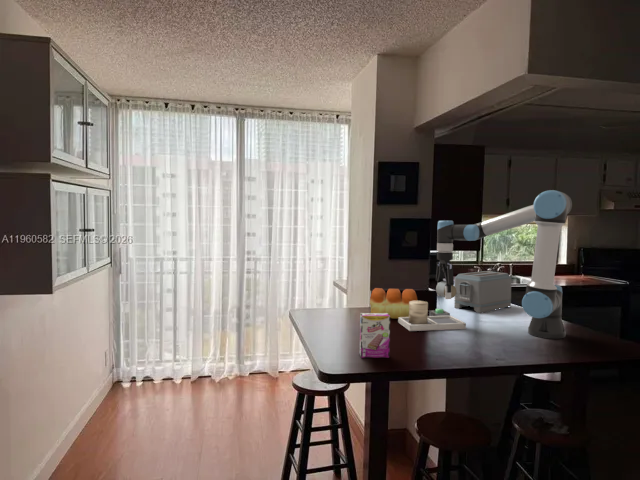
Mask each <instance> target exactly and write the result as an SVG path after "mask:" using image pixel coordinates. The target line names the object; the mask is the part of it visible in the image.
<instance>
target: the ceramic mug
mask: <svg viewBox="0 0 640 480" xmlns="http://www.w3.org/2000/svg"><path fill="white" fill-rule="evenodd" d="M445 285H446V280H443V281H441V282H439V283H437V284H436V287H435V291H436V294H437V296H438V295H439V296H438V297H441V298H445ZM455 296H456V297H459V296H460V294H458V293H456V288H455V284H454V285H452V286H451V299H453V298H455Z"/></svg>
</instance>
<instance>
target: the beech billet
mask: <svg viewBox="0 0 640 480" xmlns="http://www.w3.org/2000/svg"><path fill="white" fill-rule="evenodd" d="M428 309H429V302H428V301H426V300H425V301H424V300H417V301H410V302H409V323H411V324H416V325H419V324H427V321H428V316H429V315H428V314H429V313H428V312H429V310H428Z"/></svg>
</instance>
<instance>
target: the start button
mask: <svg viewBox="0 0 640 480" xmlns="http://www.w3.org/2000/svg"><path fill="white" fill-rule="evenodd" d="M435 310H436V313H443V310H444V309H443V308H435Z"/></svg>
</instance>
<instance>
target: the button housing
mask: <svg viewBox="0 0 640 480" xmlns="http://www.w3.org/2000/svg"><path fill="white" fill-rule="evenodd" d="M428 312H429V313H428V314H429V315H428V316H451V313H450V312H449V311H446V310H444V309H443V313H436V309H435V310H434V309H433V310H428Z"/></svg>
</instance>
